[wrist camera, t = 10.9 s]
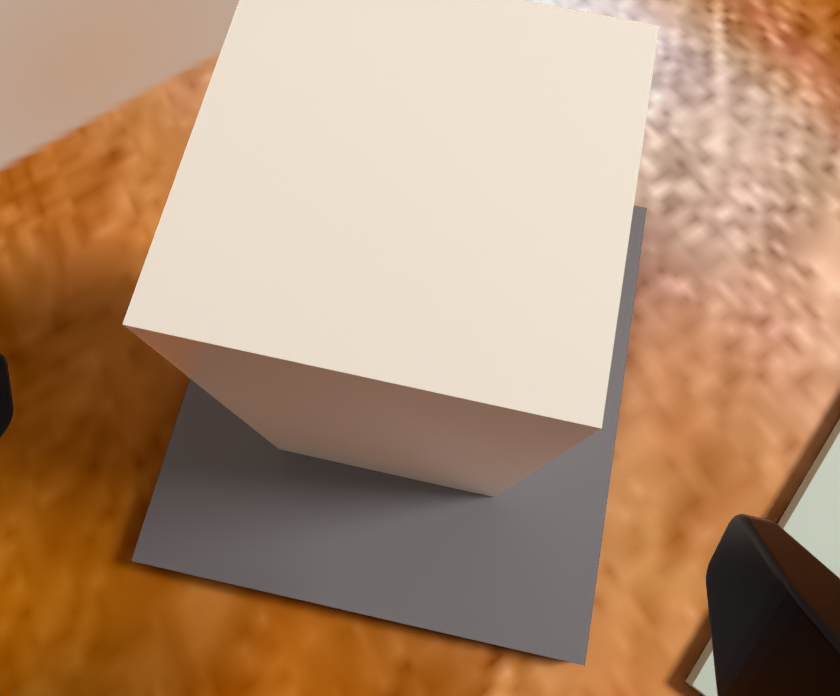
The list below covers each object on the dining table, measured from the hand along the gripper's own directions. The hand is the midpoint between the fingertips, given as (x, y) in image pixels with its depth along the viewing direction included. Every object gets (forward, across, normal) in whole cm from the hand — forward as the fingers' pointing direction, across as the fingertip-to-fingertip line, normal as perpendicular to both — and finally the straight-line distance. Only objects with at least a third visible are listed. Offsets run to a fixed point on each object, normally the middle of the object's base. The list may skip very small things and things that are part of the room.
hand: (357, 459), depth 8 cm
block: (+8, 0, +3) cm, 8 cm away
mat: (+8, 0, +3) cm, 9 cm away
